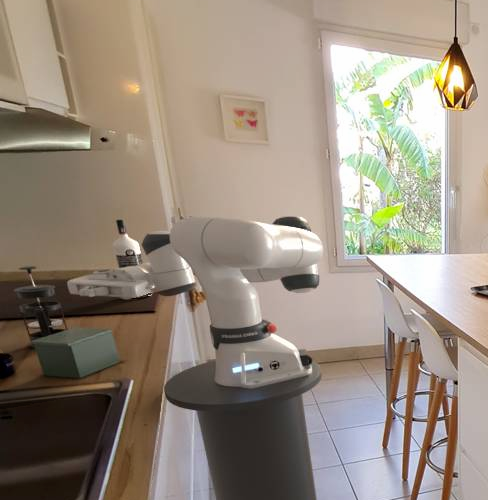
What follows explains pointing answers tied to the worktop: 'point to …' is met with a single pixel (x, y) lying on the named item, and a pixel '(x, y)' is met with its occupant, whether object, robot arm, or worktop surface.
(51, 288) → the french press
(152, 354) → the worktop surface
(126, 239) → the vodka
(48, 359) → the green box
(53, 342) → the lid
